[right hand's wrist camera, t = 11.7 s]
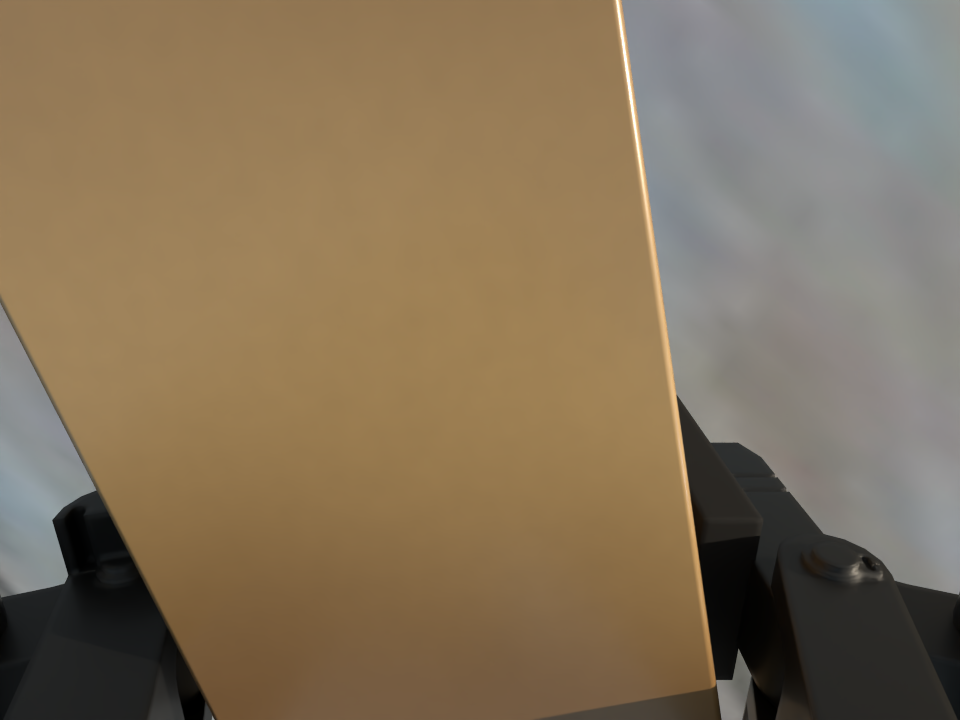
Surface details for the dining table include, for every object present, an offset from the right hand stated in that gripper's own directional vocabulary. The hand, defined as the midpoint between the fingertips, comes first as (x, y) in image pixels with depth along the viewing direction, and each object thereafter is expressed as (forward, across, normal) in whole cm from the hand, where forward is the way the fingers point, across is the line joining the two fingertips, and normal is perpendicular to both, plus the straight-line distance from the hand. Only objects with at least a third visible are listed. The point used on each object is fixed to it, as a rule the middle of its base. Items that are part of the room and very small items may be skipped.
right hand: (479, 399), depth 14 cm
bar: (+1, +3, -12) cm, 13 cm away
